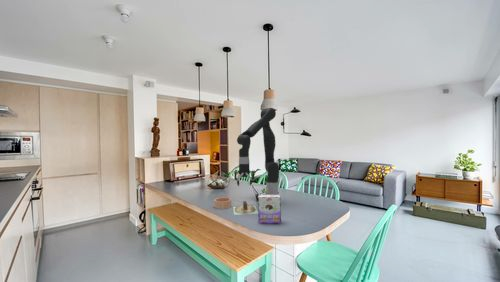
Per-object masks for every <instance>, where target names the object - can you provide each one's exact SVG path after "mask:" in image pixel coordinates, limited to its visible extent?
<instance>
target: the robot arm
mask: <svg viewBox="0 0 500 282" xmlns="http://www.w3.org/2000/svg"><path fill="white" fill-rule="evenodd" d="M276 114H277V113H276V110H275V109H274V108H273V107H267V108H263V109H262V110H261V111H260V118H259V119H258V120H257V121H255V122H253V124H251V125H250V126H249V127H248V128H247V129H246V130H244V131H243V132H242V133H240V134H239V135H238V136H237V138H236V142H237V144H238V145H240V146H241V147H240V148H239V150H238V170H237V171H236V170H235V171H234V176H233V178H234V180H235V181H236V184H237V186H238V187H240V179H241V178H248V179H249V186H252V184H253V180H254V179H255V171H254V170H251V169H250V147H251V138H254V137H255V136H256V135H257V134H258V132H259V131H261V129H262V136H263V146H264V160H265V161H264V169H265V171H266V173H267V177H266V180H265V181H266V183H265V185H266V188H265V189H266V195H280V192H279V179H280V166H279V164H278V163H277V162H275V150H276V136H275V134H274V131H273V130H272V128H271V124H270V122H271V121H272V120H274V119H275V117H276ZM238 174H239V176H238V177H237V175H238ZM250 174H251V176H252V177H251V176H250Z"/></svg>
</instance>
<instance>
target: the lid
mask: <svg viewBox="0 0 500 282" xmlns="http://www.w3.org/2000/svg"><path fill="white" fill-rule="evenodd" d="M253 206H254V205H248V202H247V201H246V200H244V201H242V205H239V206H235V207H236V208H235V212H237V213H242V215H249V214H248V213H252V212H255V210H256V209H257V207H256V208H255V207H253Z"/></svg>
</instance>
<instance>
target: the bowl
mask: <svg viewBox="0 0 500 282" xmlns="http://www.w3.org/2000/svg"><path fill="white" fill-rule="evenodd" d="M213 201H214V203H213V205H214V208H215V209H216V210H226V209H230V208H232V198H230V197H226V196H225V197H224V196H223V197H217V198H214V200H213Z"/></svg>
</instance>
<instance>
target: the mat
mask: <svg viewBox="0 0 500 282" xmlns="http://www.w3.org/2000/svg"><path fill="white" fill-rule="evenodd" d="M252 206H253V207H255V208H256V210H255V212H252V213H248V214H247V215H255V214H257V215H258V208H257V206H256V205H252ZM236 207H237V206H233V207H232V210H233V211H232V212H233V216H236V215H237V216H238V215H239V216H241V215H243V214H242V213H237V212H235V208H236Z"/></svg>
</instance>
